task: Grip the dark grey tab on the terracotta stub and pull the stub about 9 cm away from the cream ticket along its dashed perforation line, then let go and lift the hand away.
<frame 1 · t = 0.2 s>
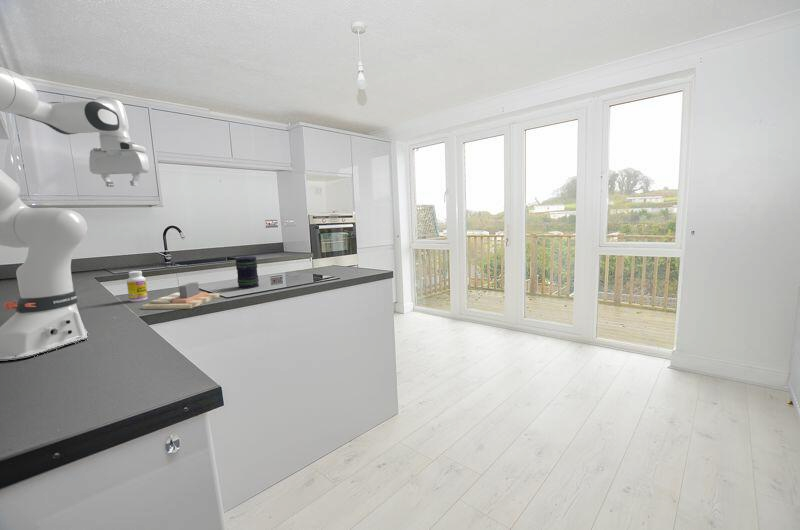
hand: (122, 186, 128), 47 cm above the countertop, fingers open, 8 cm apart
ticket board: (183, 302, 148), on the countertop
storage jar: (248, 287, 178), on the countertop
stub: (189, 291, 147), point 5 cm above the countertop, slide at 0.0 cm
supplement bottle: (139, 300, 155), on the countertop
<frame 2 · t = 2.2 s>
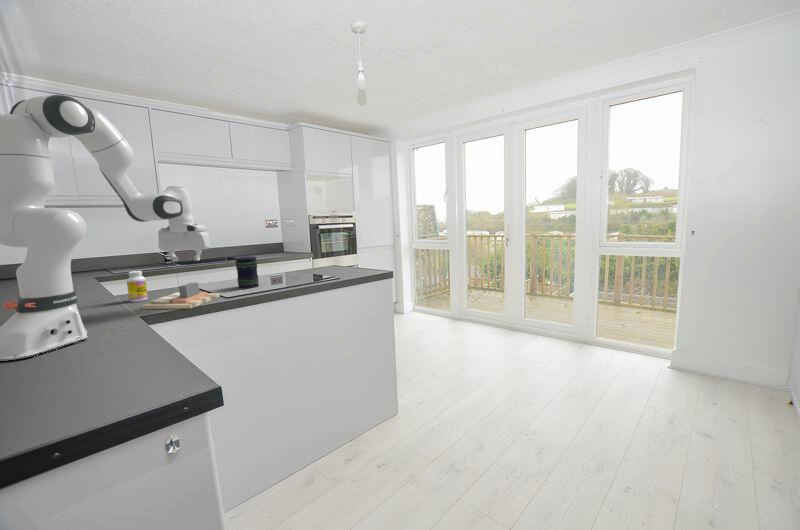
hand: (186, 260, 146), 18 cm above the countertop, fingers open, 8 cm apart
nothing on the countertop moved.
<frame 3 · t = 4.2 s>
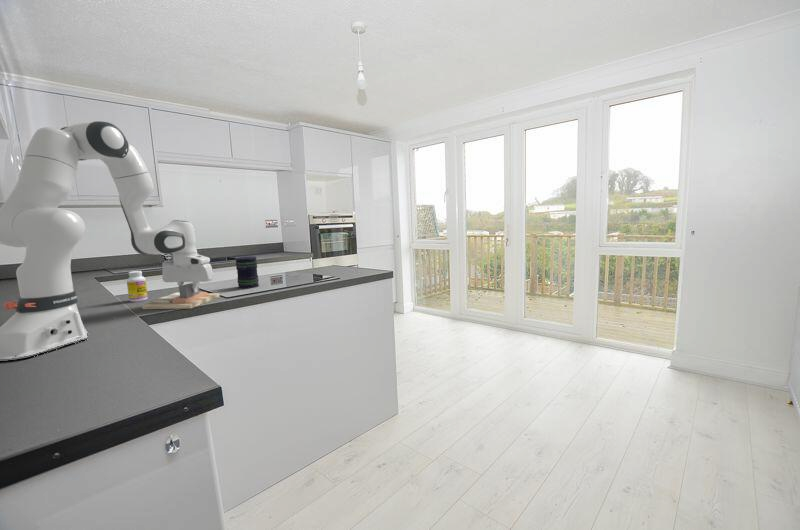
hand: (189, 292, 147), 4 cm above the countertop, fingers closed on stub, 3 cm apart
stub: (189, 291, 147), point 5 cm above the countertop, slide at 0.0 cm, touching gripper
everything else where it was.
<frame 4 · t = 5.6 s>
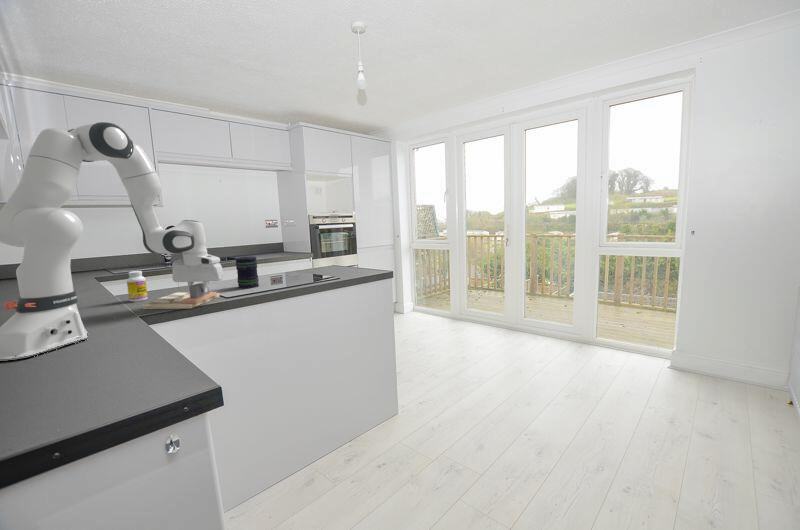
hand: (199, 292, 147), 4 cm above the countertop, fingers closed on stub, 3 cm apart
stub: (199, 291, 147), point 5 cm above the countertop, slide at 4.3 cm, touching gripper
everything else where it was.
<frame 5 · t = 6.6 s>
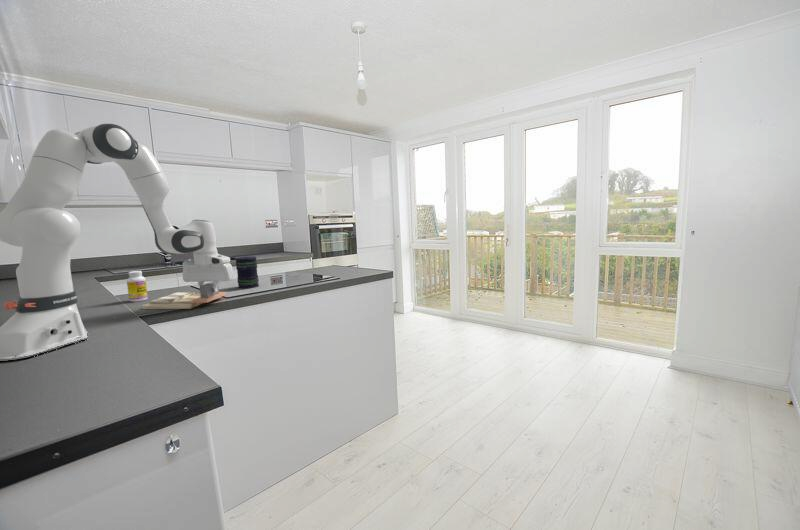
hand: (209, 291, 147), 4 cm above the countertop, fingers closed on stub, 3 cm apart
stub: (209, 291, 147), point 5 cm above the countertop, slide at 8.8 cm, touching gripper
everything else where it was.
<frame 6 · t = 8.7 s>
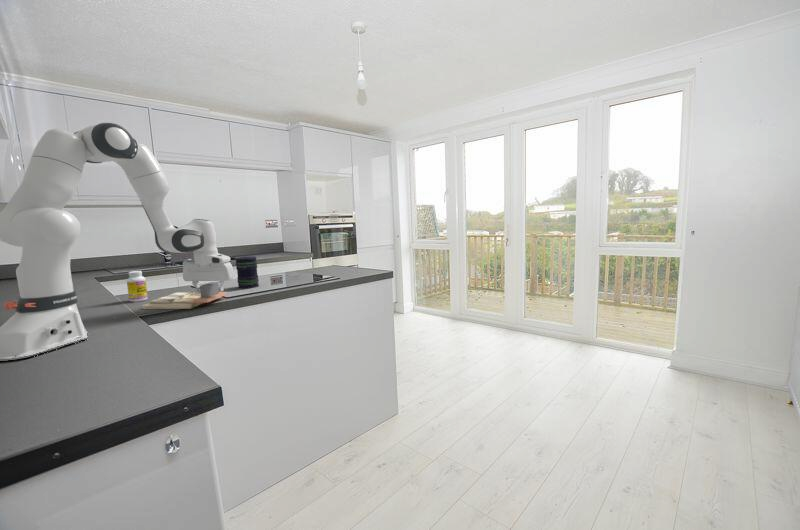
hand: (209, 291, 147), 5 cm above the countertop, fingers open, 8 cm apart
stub: (210, 291, 147), point 5 cm above the countertop, slide at 8.9 cm
everything else where it was.
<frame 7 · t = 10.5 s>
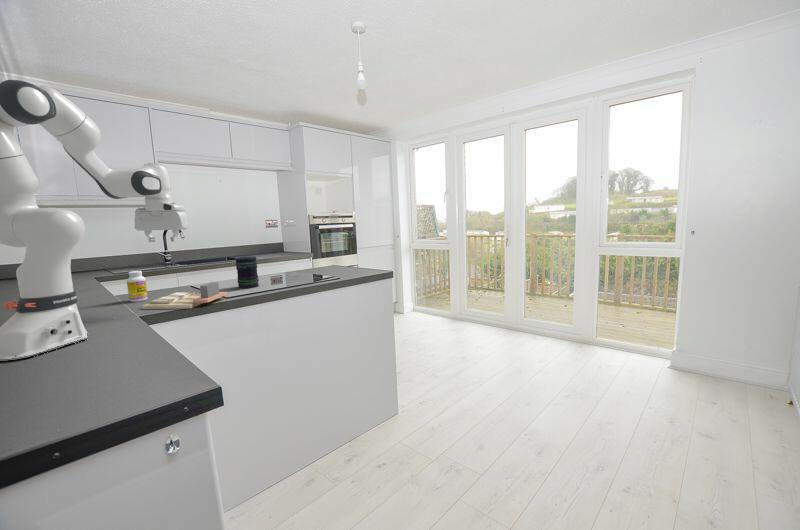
hand: (162, 241, 140), 26 cm above the countertop, fingers open, 8 cm apart
nothing on the countertop moved.
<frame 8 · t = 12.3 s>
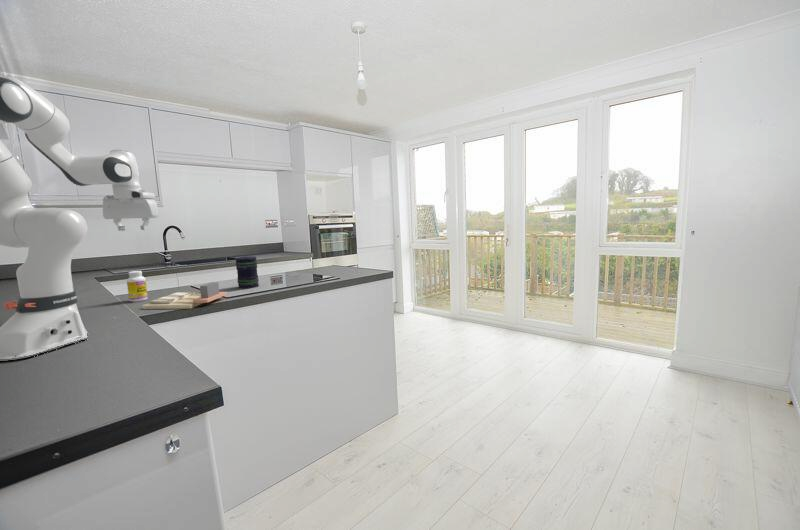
hand: (133, 230, 138), 31 cm above the countertop, fingers open, 8 cm apart
nothing on the countertop moved.
at the end: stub slide at 8.9 cm; the gripper is holding nothing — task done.
